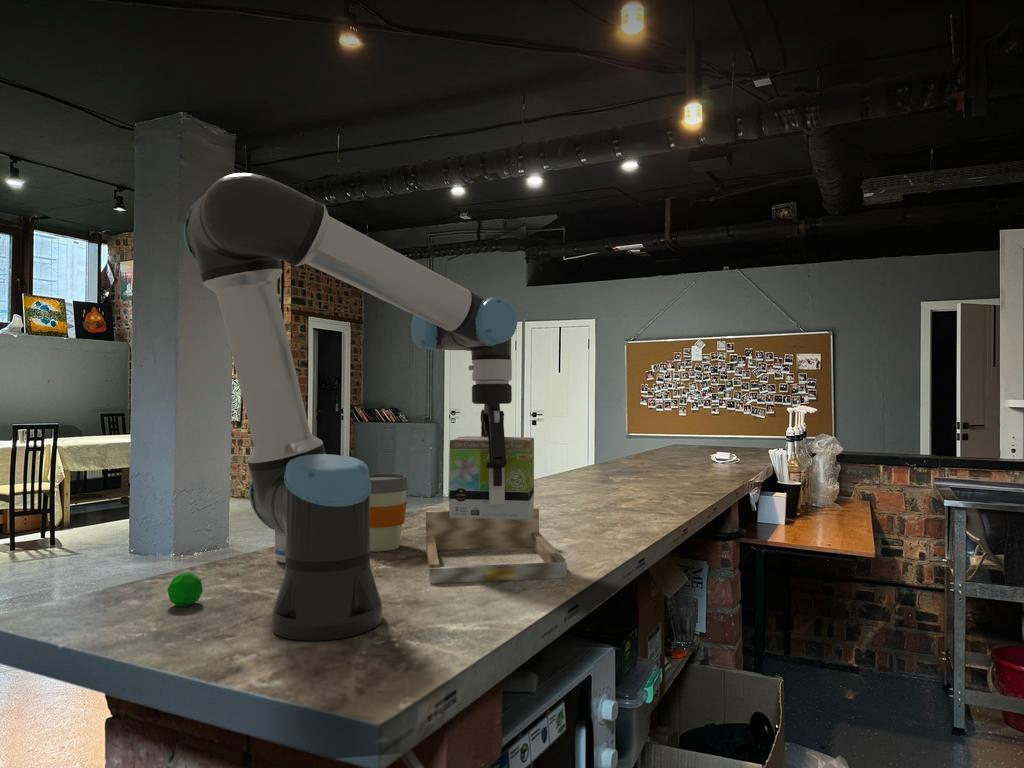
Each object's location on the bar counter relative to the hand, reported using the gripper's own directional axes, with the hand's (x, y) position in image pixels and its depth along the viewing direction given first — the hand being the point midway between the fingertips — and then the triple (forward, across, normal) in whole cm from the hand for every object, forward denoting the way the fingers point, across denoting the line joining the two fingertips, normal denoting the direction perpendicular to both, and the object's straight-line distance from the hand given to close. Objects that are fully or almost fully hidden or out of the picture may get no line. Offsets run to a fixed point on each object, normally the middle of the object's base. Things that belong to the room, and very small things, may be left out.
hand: (492, 499), depth 132 cm
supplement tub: (+13, -14, -37) cm, 41 cm away
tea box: (+3, 0, 0) cm, 3 cm away
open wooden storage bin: (+13, -4, 0) cm, 14 cm away
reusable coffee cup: (+13, -22, -22) cm, 34 cm away
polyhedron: (+13, +15, -50) cm, 54 cm away
